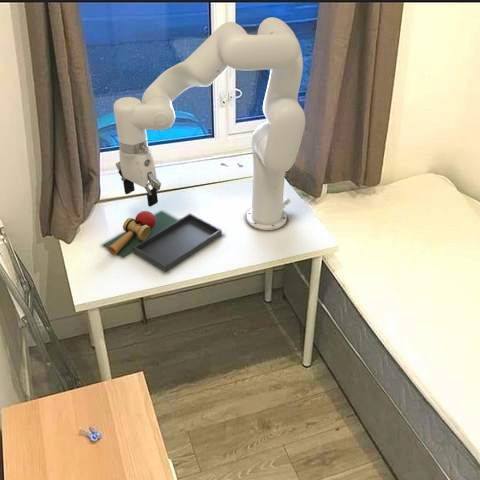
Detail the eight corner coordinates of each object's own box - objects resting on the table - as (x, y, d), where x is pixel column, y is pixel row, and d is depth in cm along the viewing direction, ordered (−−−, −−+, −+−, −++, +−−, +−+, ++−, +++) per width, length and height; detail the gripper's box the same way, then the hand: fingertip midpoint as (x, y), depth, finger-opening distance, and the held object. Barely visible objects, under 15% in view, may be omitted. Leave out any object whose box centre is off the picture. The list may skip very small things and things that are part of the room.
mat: (161, 212, 189) (161, 211, 188) (180, 222, 185) (180, 222, 185) (103, 245, 174) (103, 244, 174) (123, 257, 171) (122, 256, 170)
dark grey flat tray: (190, 218, 187) (189, 213, 185) (221, 235, 181) (221, 229, 180) (133, 252, 172) (132, 247, 171) (165, 272, 167) (165, 266, 165)
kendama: (127, 263, 170) (164, 225, 181) (119, 246, 166) (158, 208, 177) (107, 257, 174) (145, 220, 184) (99, 241, 170) (138, 204, 180)
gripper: (166, 149, 159) (172, 203, 170) (122, 129, 167) (131, 182, 178) (145, 160, 154) (152, 215, 165) (101, 139, 162) (111, 193, 173)
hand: (141, 198), depth 172 cm, fingers open, 9 cm apart
